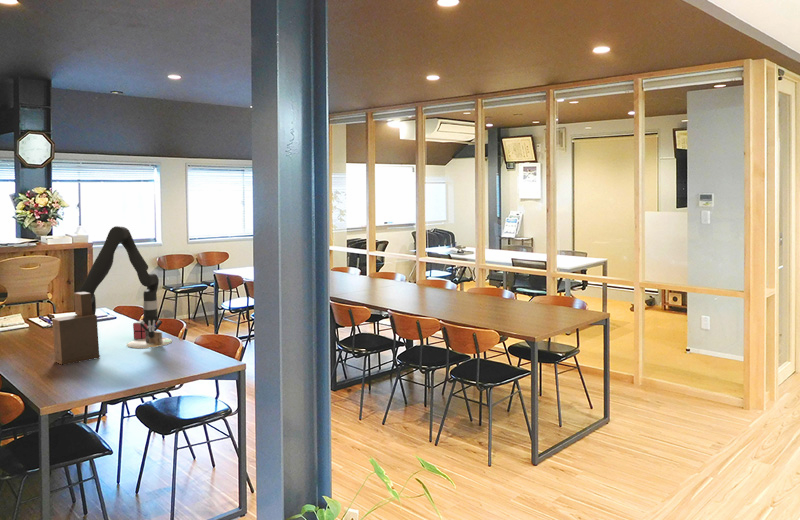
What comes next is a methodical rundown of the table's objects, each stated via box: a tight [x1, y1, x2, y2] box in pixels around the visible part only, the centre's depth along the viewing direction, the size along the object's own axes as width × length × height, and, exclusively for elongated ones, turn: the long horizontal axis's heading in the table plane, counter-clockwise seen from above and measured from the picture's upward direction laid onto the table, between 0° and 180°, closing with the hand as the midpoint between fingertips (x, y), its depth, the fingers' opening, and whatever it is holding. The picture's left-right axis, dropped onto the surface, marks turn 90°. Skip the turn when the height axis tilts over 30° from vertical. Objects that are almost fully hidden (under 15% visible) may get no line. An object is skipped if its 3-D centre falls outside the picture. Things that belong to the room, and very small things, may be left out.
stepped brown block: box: [51, 291, 101, 366], centre depth 334 cm, size 19×14×35 cm
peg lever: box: [145, 330, 163, 345], centre depth 367 cm, size 15×4×8 cm, turn 53°
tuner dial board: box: [126, 337, 173, 349], centre depth 370 cm, size 25×25×1 cm
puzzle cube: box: [132, 319, 157, 340], centre depth 387 cm, size 10×10×10 cm
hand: (151, 337), depth 363 cm, fingers closed
